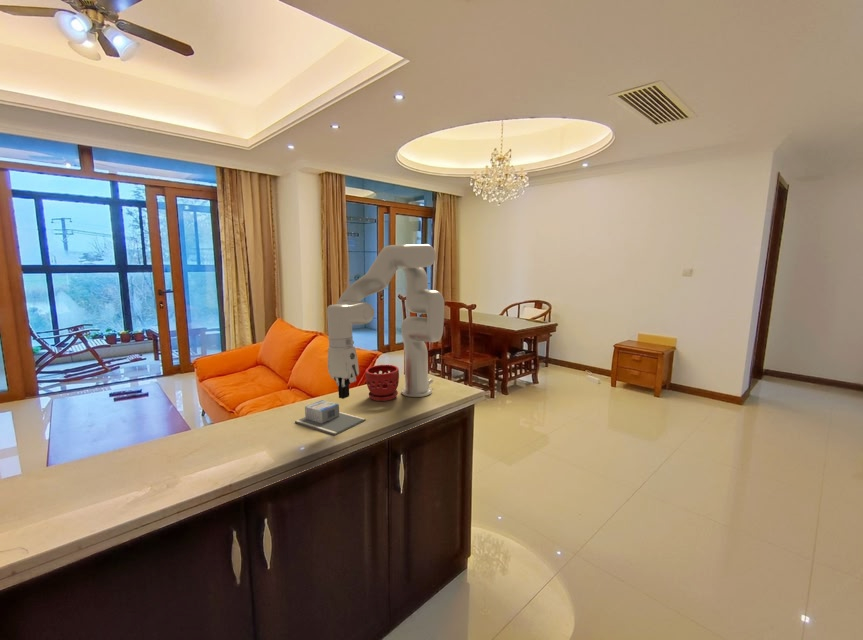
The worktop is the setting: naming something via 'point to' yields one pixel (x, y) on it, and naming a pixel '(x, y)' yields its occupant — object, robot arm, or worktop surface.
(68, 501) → the worktop surface
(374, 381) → the plant pot
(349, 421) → the mat
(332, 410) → the medicine box
